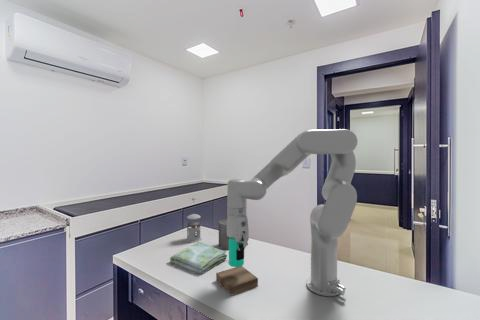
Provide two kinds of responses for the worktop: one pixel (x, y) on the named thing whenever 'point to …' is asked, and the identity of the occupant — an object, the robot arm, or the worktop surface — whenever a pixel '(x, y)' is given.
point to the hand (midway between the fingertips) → (236, 256)
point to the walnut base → (236, 280)
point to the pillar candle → (223, 234)
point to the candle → (234, 254)
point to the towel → (199, 257)
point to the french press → (193, 229)
